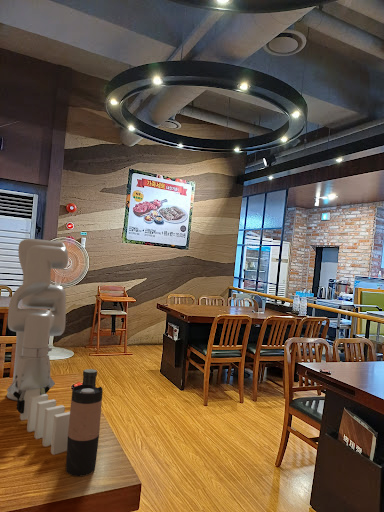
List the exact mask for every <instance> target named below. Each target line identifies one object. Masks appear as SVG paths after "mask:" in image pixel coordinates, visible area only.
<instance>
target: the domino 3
mask: <svg viewBox="0 0 384 512" xmlns="http://www.w3.org/2000/svg"><path fill="white" fill-rule="evenodd" d="M55 406H57V400H56V399H54V398H53V399H48V400H47V401H42V402H37V412H36V423H35V431H34V436H33V437H34V439H35V440H38V439H43V430H44V419H45V409H46V408H50V407H55Z"/></svg>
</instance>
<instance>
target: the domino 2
mask: <svg viewBox="0 0 384 512" xmlns="http://www.w3.org/2000/svg"><path fill="white" fill-rule="evenodd" d="M47 400H49V395H48V394H47V393H46V394H42V395H37V396H31V397H30V402H29V412H28V419H27V425H26V431H27V432H28V433H31V432H35V423H36V412H37V402H42V401H47Z"/></svg>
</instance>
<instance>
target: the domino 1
mask: <svg viewBox="0 0 384 512" xmlns="http://www.w3.org/2000/svg"><path fill="white" fill-rule="evenodd" d="M37 395H40V388H38V389H32V390H26V393H25V395H24V399H23V400H25V405H24V413H22V414H21V413H20V412H19V419H20V420H21V421H26V420H28V412H29V402H30V397H31V396H37Z"/></svg>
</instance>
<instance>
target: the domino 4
mask: <svg viewBox="0 0 384 512" xmlns="http://www.w3.org/2000/svg"><path fill="white" fill-rule="evenodd" d="M65 409H66V406H64V405H63V404H60V405H56V406H55V407H50V408H46V409H45V419H44V430H43V438H42V443H41V444H42V446H43V447H49V446H51V443H52V433H53V422H54V415H57V414H61V413H66V411H65Z"/></svg>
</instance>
